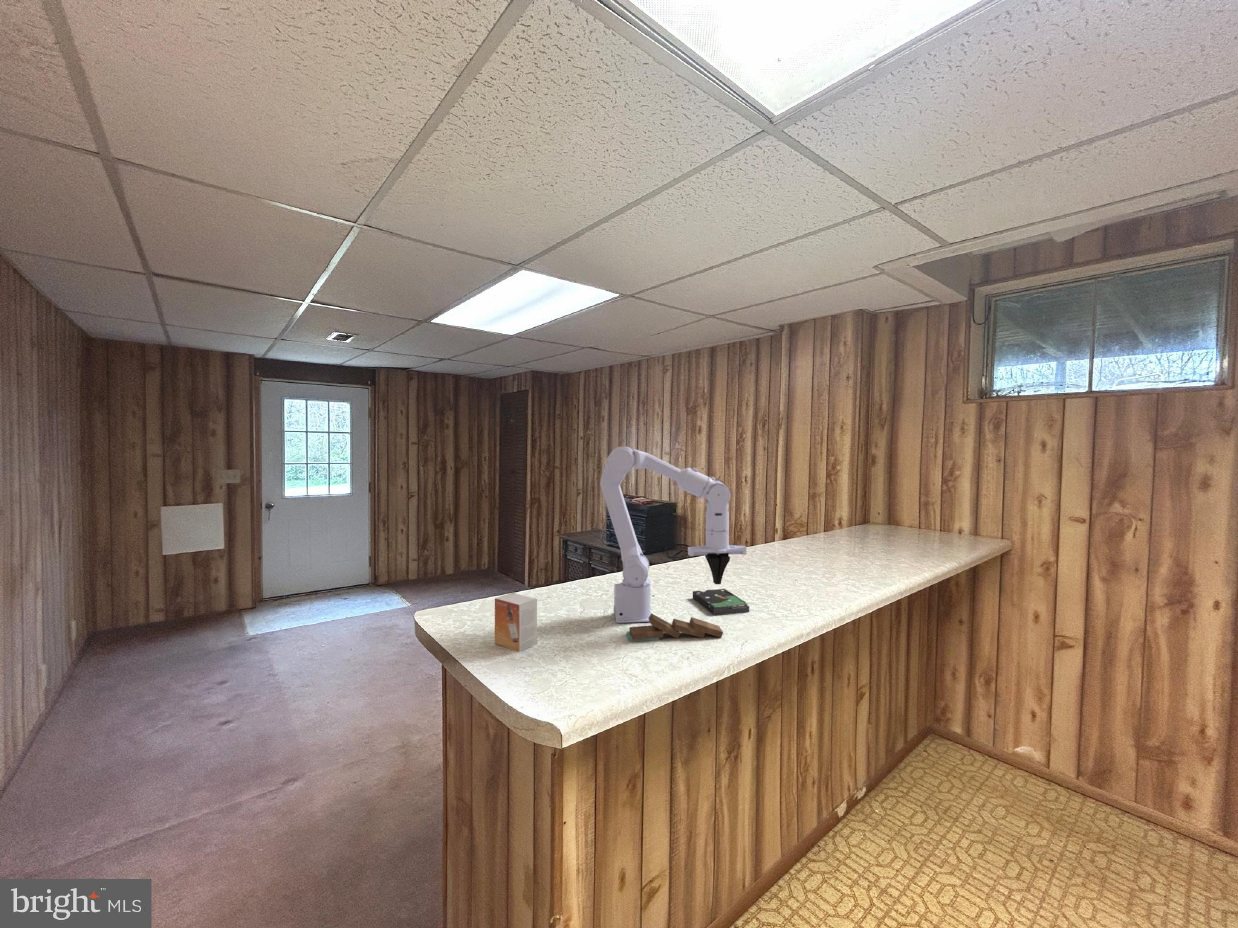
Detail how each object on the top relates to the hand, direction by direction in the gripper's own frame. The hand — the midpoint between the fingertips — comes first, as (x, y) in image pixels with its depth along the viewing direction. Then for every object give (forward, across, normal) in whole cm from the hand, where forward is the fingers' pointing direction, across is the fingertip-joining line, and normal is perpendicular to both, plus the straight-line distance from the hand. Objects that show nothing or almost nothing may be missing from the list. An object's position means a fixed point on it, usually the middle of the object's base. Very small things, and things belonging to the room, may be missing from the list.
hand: (717, 583), depth 125 cm
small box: (+10, -49, -10) cm, 51 cm away
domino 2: (+9, -12, -9) cm, 17 cm away
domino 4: (+9, -2, -9) cm, 13 cm away
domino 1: (+8, -16, -9) cm, 20 cm away
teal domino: (+10, -17, -9) cm, 21 cm away
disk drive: (+10, +4, +11) cm, 16 cm away
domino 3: (+9, -6, -9) cm, 14 cm away
